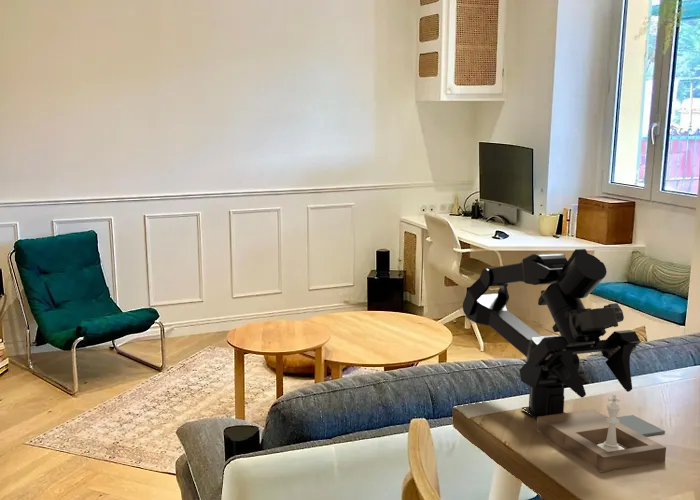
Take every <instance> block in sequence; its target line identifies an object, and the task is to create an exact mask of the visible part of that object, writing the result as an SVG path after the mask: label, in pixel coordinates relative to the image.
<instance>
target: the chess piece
mask: <svg viewBox="0 0 700 500" xmlns="http://www.w3.org/2000/svg"><path fill="white" fill-rule="evenodd" d="M607 400H608V402H611V403H608V404H607V405H606V408H607V411H608V415H609V416H607V417H608V418H606V421H607V422H608V423H609V428H608V434H607V438H606V441H605V442H603V443H597V444H596V445H597V446H599V447H601V448H602V449H604V450H606V451H607V452H610V451H616V450H622V449H625V447H624V446H622V445H620V444H619V443H617V440H616V424H618V423H620V421H619V419H617V418H616V417H618V414H619V413H620V409H621V407H620V405H619V404H616V402H617V403H620V402H621V399H620V398H619V397H617V394H616V393H615V394H614V393H612V397H608V399H607Z"/></svg>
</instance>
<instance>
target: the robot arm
mask: <svg viewBox="0 0 700 500" xmlns="http://www.w3.org/2000/svg"><path fill="white" fill-rule="evenodd" d="M570 255H571V256H570V257H569V258H568V259H567V256H566V255H565V254H564V253H563V252H552V253H532V254H530V255H528V256H526V257H524V258H522V260H521V262H519V263H512V264H507V265H505V264H504V265H500V266H490V267H489V266H487V267H485V268H483V269H482V270H481V273H480V275H479V278H478V279H476V281H474V283H473V284H472V285H470V286H469V288H468V289H467V291H466V293H465V297H464V299H463V302H462V311H463V313H464V315H465V317H466V318H467V319H468V320H469V321H471V322H473V323H475V324H477V325H483V326H488V327H490V328H492V329H493V331H494V332H496V333H497V334H498V335H499V336H501V337H502V338H503V339H504V340H505V341H507V342H508V343H509V344H511V346H513V347H514V348H515V349H516V350H518V351H519V352H520V354H523V356H524V357H526V358H525V359H526V362H525V363H524V365H522V366H521V368H519V375H520V376H519V377H520V381H521V382H522V383H523V384H525V385H527V386H529V398H528V406H525V407H524V406H522V407H521V410H522V409H524V408H526V409H524V410H525V411H527V412H528V413H530V414H531V415H532V416H533V417H532V416H531V417H532V418H534V417H535V418H536V419H535V418H534V419H535V420H537V417H540V416H547V415H555V414H562V413H566V412H565V386H567V387H568V388H569V389H570V390H572V392H574V393H575V394H577V396H579V397H580V398H585V396H586V395H587V393H586V390H585V387H584V384H583V382H582V380H581V377H580V375H579V373H578V371H579V368H580V358H579V356H578V355H580V354H581V355H582V354H590V353H600V352H601V355H602V357H604V358H605V359H607V360H606V361H605V364H606V365H607V367H608V368H609V370H610V371H611V373H612V374H613V376H614V377H615V378H616V379H617V381H618V382H619V384H620V385H621V386H622V388H623V389H624V390H625V392H628V393H629V392H631V391H632V390H633V383H632V374H631V363H630V362H631V355H632V353H633V352H634V351H635V350H636V349H637V347H638V346H639V345H640V344H641V343H642V342H641V340H640V338H639V336H638V334H637V333H636V331H635V330H631V329H627V330H625V329H624V330H615V331H613V332H612V333H611V334H610V335H608V337H607V338H605V339H600V338H601V337H603V336H605V334H606V333H607V331H606V330H607V329H609V328H617V327H619V323H621V322H623V321H624V319H625V316H624V312H623V310H622V308H621V306H620V305H619V303H618V302H617V303H616V302H615V303H608V304H605V305H603V307H600V308H599V307H598V308H597V307H596V308H589V307H587V308H586V307H585V306H584V303H583V301H582V299H584V298H587V297H588V296H590V294H591V293H592V292H593V291H594V290H595V288H596V287H597V286H598V285H599V284H600V283H601V282H602V281H603V280H604V278H606V276H607V268H606V265H605V263H604V262H602V261H601V260H600V259H599V258H598V257H596V256H595V255H592V254H590V253H589V252H588V251H587V249H586V248H578V249H577V248H575V250H574V251H573V252H572V254H570ZM517 283H519V284H520V283H525V284H526V285H534V286H541V285H542V286H543V285H544V286H545V285H548V286H547V288H546V289H543V290H541V291H540V296H539V297H538V302H537V305H538V306H547V308H548V311H549V313H550V315H551V317H552V319H553V321H554V323H555V324H553V325H552V327H551V328H552V330H553V332H554V333H559V335H558V334H554V335H540V334H539V333H538V332H537V331H535V330H534V329H532V328H531V327H530V326H529V325H527V324H526V323H525V322H523V321H522V320H521V319H519V318H518V317H517V316H515V315H514V314H513V313H512V312H510V311H509V310H508V309H507V308H508V307H507V306H508V305H507V304H508V301H509V299H510V295H509V292H508V285H509V284H510V285H511V284H517ZM490 287H498V290H497V291H495V292H487V291H489V288H490ZM564 385H565V386H564Z"/></svg>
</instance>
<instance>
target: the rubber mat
mask: <svg viewBox="0 0 700 500" xmlns="http://www.w3.org/2000/svg"><path fill="white" fill-rule="evenodd" d="M616 418H617V419H619V421H620V423H621V424H622V425H624V426H626V427H628V428H630V429H632V430H634V431H636V432H638V433H640V434H642V435H643V436H645V437H648V436H649V437H650V436H655V435H656V436H657V435H661V434H665V433H666V430H664V429H662V428H660V427H658V426H656V425H654V424H652V423H650V422H648V421H647V420H645V419H643V418H640V417H638V416H636V415H634V414H629V415H622V416H617V417H616Z"/></svg>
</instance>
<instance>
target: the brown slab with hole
mask: <svg viewBox="0 0 700 500" xmlns="http://www.w3.org/2000/svg"><path fill="white" fill-rule="evenodd" d="M608 417H609V416H607V415H606V414H603V413H601V412H599V411H597V410H595V409H594V408H592V409H588V410H587V409H585V410H578V411H572V412H571V411H570V412H565V413H562V414H555V415H547V416H540V417H537V419H536V431H537V432H538V433H540V434H542V435H543V436H544V437H546V438H547V439H549V440H550V441H553V443H556V444H557V445H559V446H560V447H561V448H563V449H565V450H566V451H569V452H570V453H571V454H572V455H574V456H576V457H577V458H579V459H580V460H582V461H584V462H585V463H587V464H589V466H591V467H593V468H594V469H596V470H597V471H600V473H602V474H605V473H609V472H610V473H611V472H615V471H622V470H627V469H629V470H630V469H635V468H639V467H645V466H651V465H657V464H658V465H659V464H663V463H666V456H667V455H666V453H667V446H665V445H663V444H661V443H658V442H656V441H655V440H653V439H651V438H649V437H648V436H643V435H642V434H640V433H638V432H636V431H634V430H632V429H630V428H628V427H626V426H624V425H622V424H621V423H618V424H616V440H617V443H618V444H619V446H621V447H623V448H624V449H622V450H616V451H610V452H607V451H606V450H604V449H602V448H601V447H599V446H597V445H598V444H601V443H604V442H605V441H606V438H607V434H608V428H609V423H608V422H607V421H606V418H608Z"/></svg>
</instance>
